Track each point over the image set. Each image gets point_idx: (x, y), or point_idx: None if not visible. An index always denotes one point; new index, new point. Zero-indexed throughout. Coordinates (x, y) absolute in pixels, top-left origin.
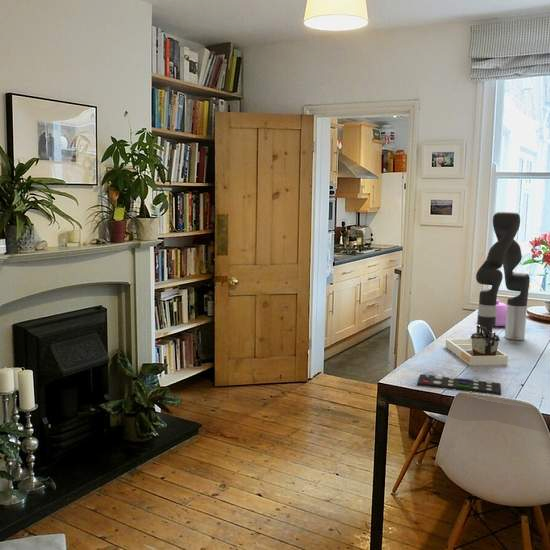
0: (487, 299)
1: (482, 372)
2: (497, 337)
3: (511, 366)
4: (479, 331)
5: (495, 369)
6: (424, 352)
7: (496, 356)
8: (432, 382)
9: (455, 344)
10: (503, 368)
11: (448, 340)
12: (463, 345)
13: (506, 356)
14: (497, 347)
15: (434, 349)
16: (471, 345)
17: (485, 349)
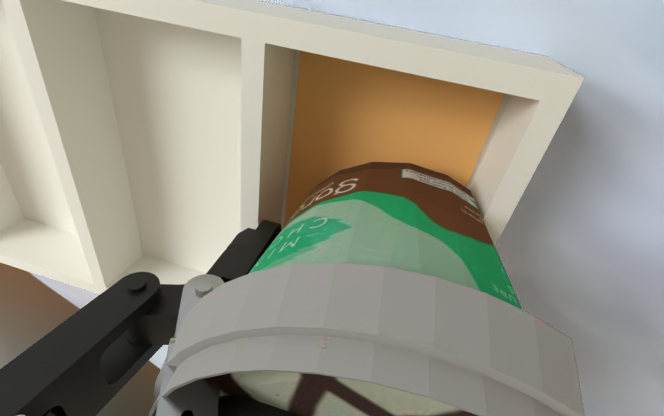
0: None
1: (585, 368)
2: (435, 365)
3: (619, 43)
4: (77, 410)
5: (589, 258)
6: (153, 356)
7: (504, 223)
8: None
9: (100, 287)
10: (614, 178)
11: (3, 261)
12: (98, 236)
13: (568, 99)
14: (507, 278)
15: (92, 294)
16: (80, 173)
17: None
